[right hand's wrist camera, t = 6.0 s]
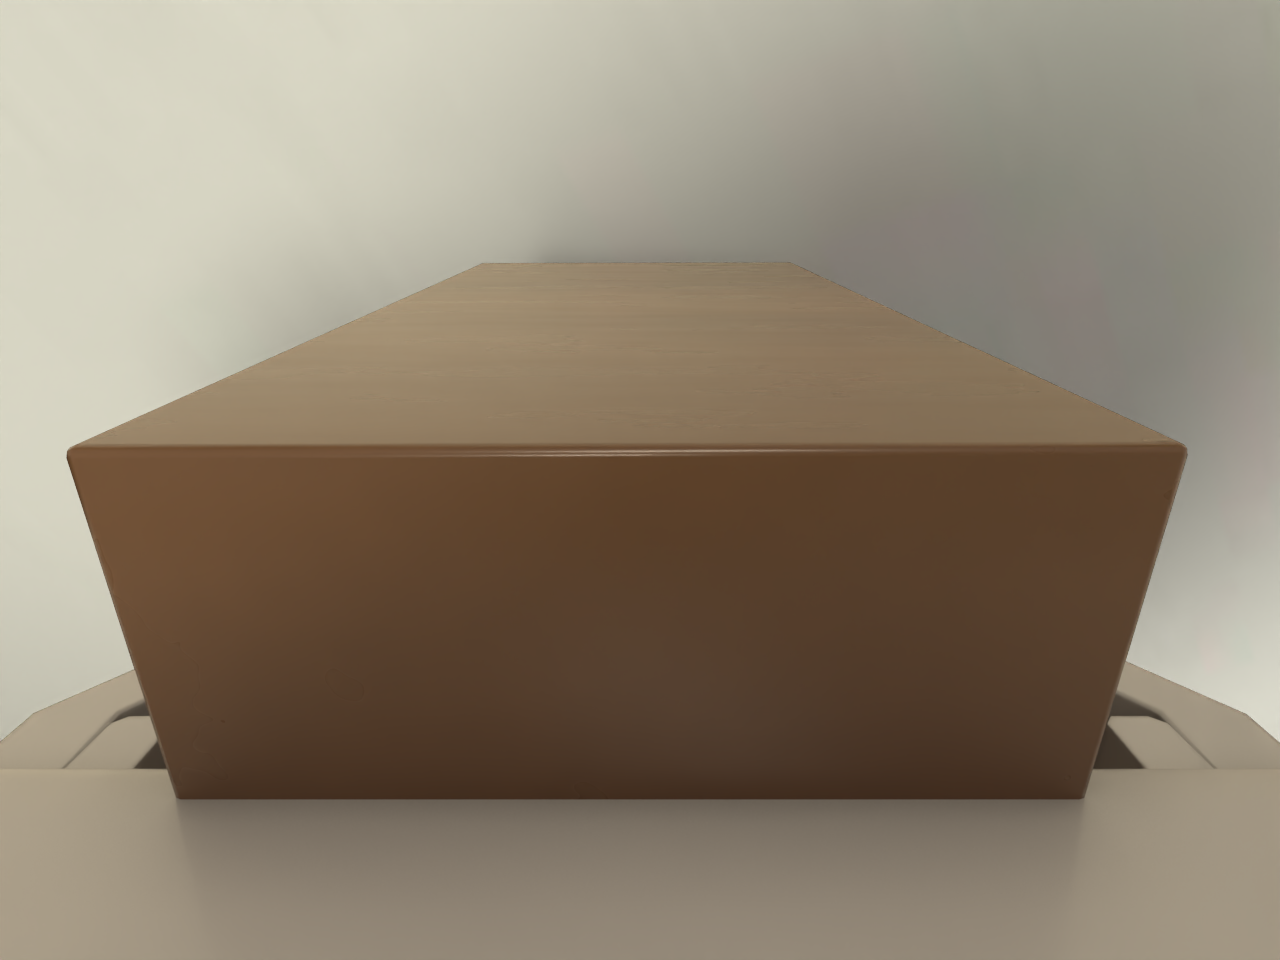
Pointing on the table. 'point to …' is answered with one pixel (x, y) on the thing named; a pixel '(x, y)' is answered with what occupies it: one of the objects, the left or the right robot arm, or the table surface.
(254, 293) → the table surface
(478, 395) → the box
